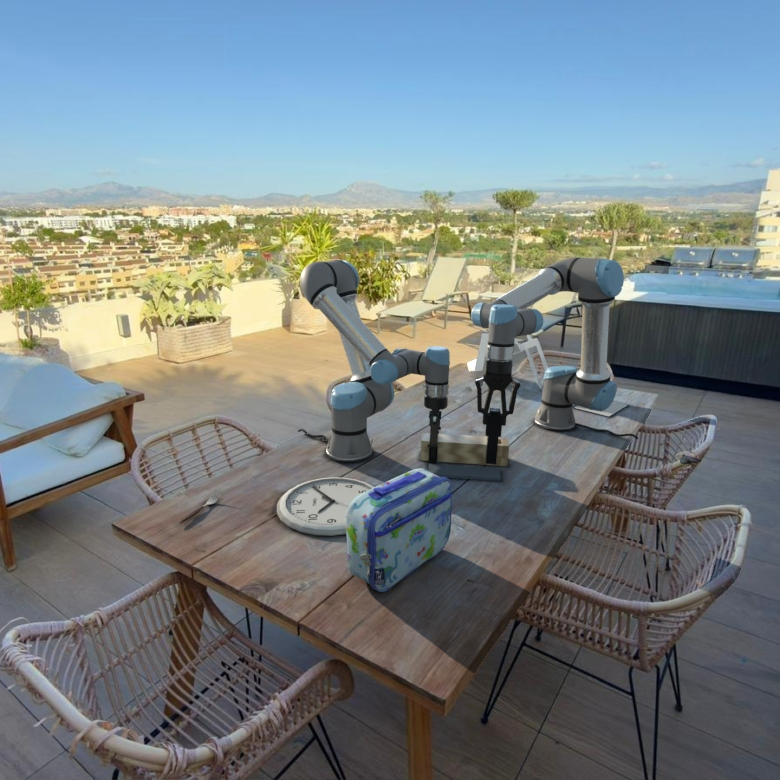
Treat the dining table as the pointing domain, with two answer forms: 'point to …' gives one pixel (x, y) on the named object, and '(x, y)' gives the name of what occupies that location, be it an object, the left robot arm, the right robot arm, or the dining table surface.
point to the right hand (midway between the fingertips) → (493, 434)
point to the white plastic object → (519, 354)
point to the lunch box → (398, 527)
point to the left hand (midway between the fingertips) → (433, 456)
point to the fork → (209, 502)
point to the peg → (493, 436)
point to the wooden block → (464, 449)
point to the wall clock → (320, 505)
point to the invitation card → (609, 411)
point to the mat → (465, 472)
